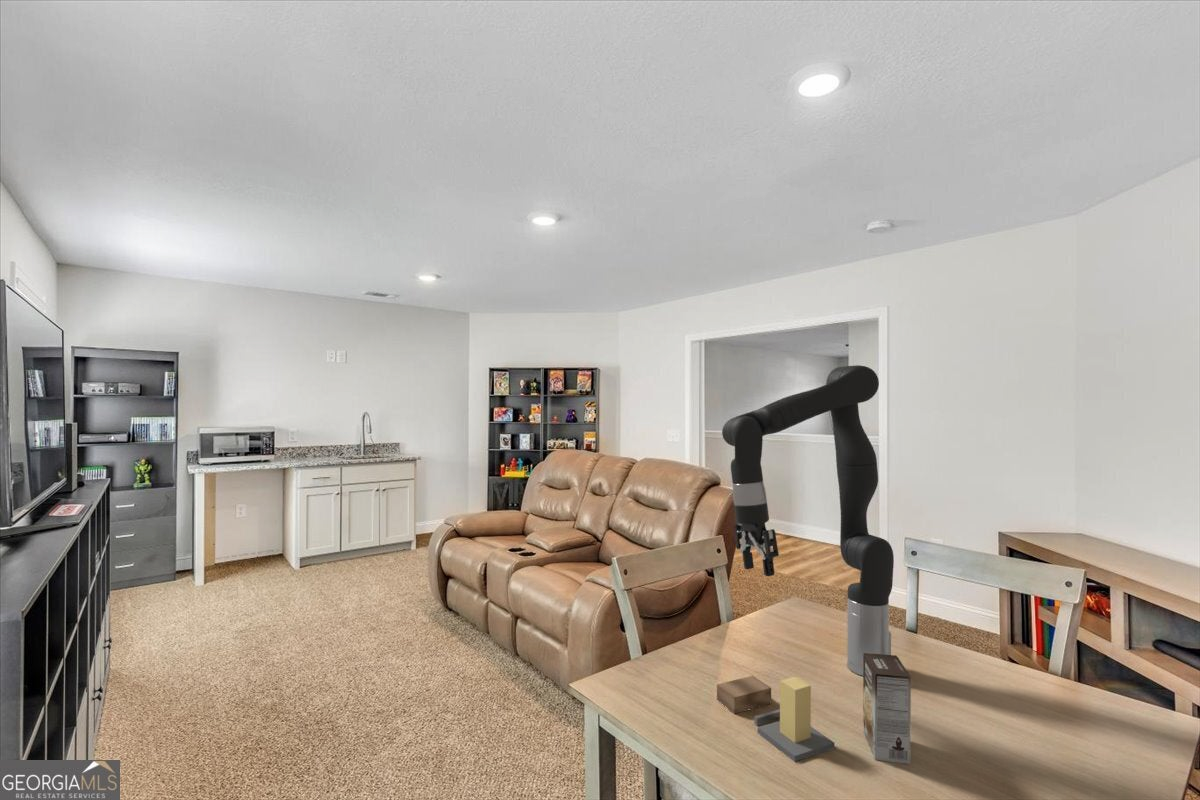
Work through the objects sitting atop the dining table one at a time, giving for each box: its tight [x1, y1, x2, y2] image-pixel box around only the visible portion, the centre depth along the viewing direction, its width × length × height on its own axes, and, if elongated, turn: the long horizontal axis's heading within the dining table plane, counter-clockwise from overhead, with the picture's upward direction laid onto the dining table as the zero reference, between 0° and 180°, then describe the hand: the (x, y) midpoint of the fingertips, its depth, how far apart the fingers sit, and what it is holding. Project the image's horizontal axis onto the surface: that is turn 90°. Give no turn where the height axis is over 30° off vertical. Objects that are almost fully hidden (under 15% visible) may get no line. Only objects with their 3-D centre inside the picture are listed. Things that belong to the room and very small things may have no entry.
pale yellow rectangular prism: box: [779, 676, 812, 743], centre depth 109 cm, size 4×4×10 cm
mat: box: [757, 720, 836, 763], centre depth 109 cm, size 10×10×1 cm
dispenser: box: [716, 675, 780, 727], centre depth 121 cm, size 10×11×4 cm
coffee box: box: [862, 653, 912, 765], centre depth 107 cm, size 9×6×16 cm
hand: (759, 572), depth 130 cm, fingers open, 8 cm apart
